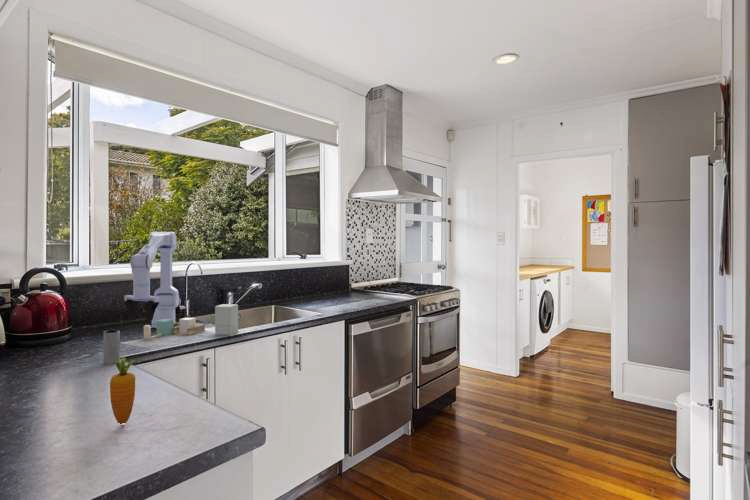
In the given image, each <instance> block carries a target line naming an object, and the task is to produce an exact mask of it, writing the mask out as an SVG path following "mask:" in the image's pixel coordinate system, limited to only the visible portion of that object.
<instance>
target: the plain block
mask: <svg viewBox="0 0 750 500" xmlns="http://www.w3.org/2000/svg"><path fill="white" fill-rule="evenodd" d="M196 320H197V318H196V317H183V318H179V321H178V323H179V334H187V329H188V328H192V327H195V326H196V324H197V323H196Z"/></svg>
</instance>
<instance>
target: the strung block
mask: <svg viewBox="0 0 750 500" xmlns="http://www.w3.org/2000/svg"><path fill="white" fill-rule="evenodd" d="M156 327H157V328H156V334H154V335H152V333H151V329H152V328H151V325H150V324H145V325H143V340H144V341H149V340H151V339H155V338H159V337H167V336H170V335H174V334H173V328H174V327H173V319H162V320H158V321H156ZM151 335H152V336H151Z"/></svg>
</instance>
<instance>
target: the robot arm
mask: <svg viewBox="0 0 750 500" xmlns="http://www.w3.org/2000/svg"><path fill="white" fill-rule="evenodd" d="M148 236H149V237H148V244H145V245H143V246H142V247H141V249H140V250H139V251H138V253H135V254H134V255H131V257H130V261H129V262H130V264H129V265H130V269H131V273H132V279H133V280H132V282H133V283H132V288H133V289H132V291H133V293H132V294H125V295H124V296H123V298H124V302H123V305H124V306H125V308H126V309H127V311H128V314H129V317H130V318H129V319H130V320H137V318H138V317H137V316H138V307H139V304H140V302H144V303H143V305H144V307H145V312H146V313H145V314H146V315H145V316H146V321H147V322H149V321H150V322H151V326H150V329H152V328H155V329H157V327H156V321H158V320H162V319H173V323H175V322H176V308H177V307H179V305H180V293H179V290H178V289H177V288H176V287H174V286H173V254H174V252H173V251H175V250H177V241H178V239H177V238H178V237H177V234H176V232H174V231H151V232H150V233H149V235H148ZM158 251H159V254H160V286H159V287H158V288H157V289H156V290H155V291H154V293H153V295H151V269H152V267H153V263H154V259H155V257H156V256H157V255H158Z"/></svg>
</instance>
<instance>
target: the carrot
mask: <svg viewBox="0 0 750 500" xmlns="http://www.w3.org/2000/svg"><path fill="white" fill-rule="evenodd" d="M126 362H127V359H126V358H125V357H124V356H123V357H120V362H119V361H117V362H116V364H115V365H116V368H117V370H118V372H119V373H116V374H114V375H112V376H111V379H110V381H109V395H110V405H111V409H112V410H111V411H112V413H113V416H114V418H115V421H116V422H117V423H118V424H119V423H120V424H122V423H126V422H127V423H128V421H129V419H130V416H131V414H132V412H133V407H134V400H135V395H136V393H135V392H136V375H135V374H134V373H133V372H128V370H129V369H130V367H131V366H132V365H133V364H134V363H136V360H135V359H133V360H131V361H129V362H128V364H126ZM127 423H126V424H127Z"/></svg>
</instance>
